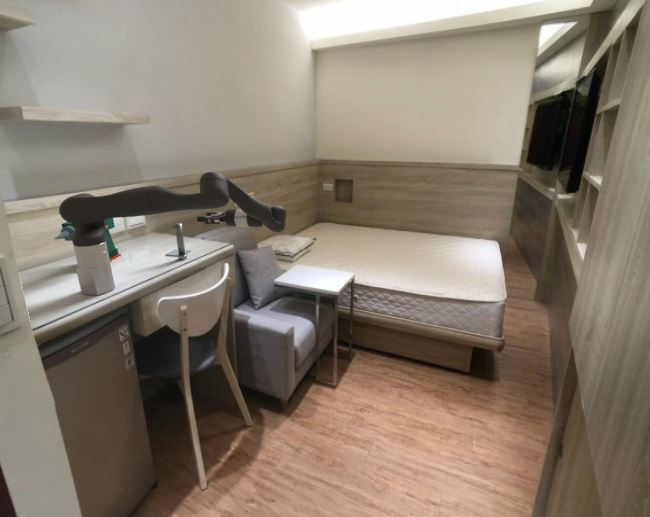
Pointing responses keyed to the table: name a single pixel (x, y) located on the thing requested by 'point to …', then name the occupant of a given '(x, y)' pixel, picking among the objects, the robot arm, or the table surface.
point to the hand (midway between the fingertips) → (202, 216)
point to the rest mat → (175, 252)
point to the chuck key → (180, 241)
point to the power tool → (113, 253)
